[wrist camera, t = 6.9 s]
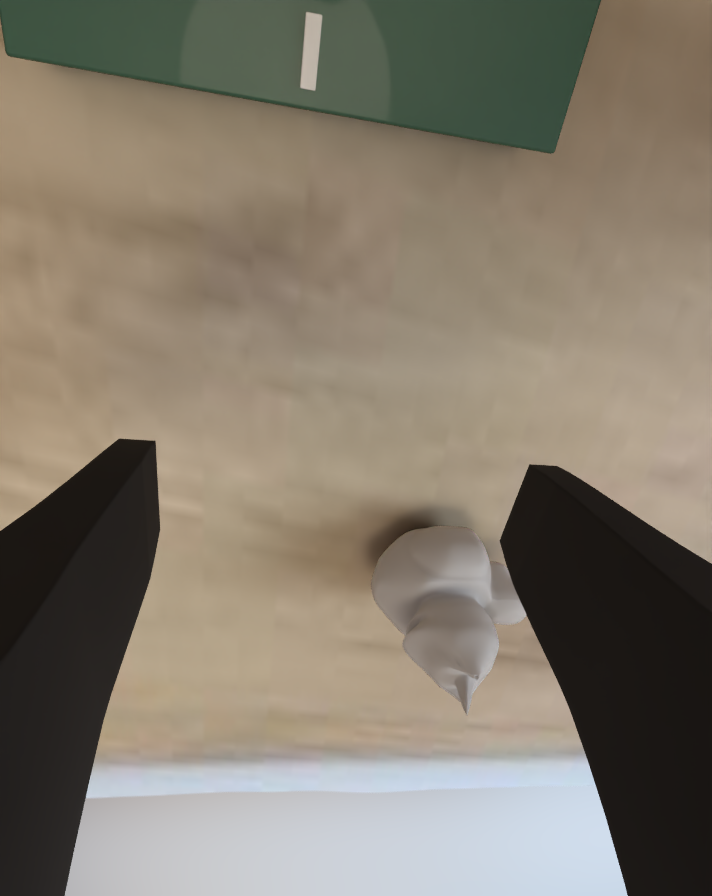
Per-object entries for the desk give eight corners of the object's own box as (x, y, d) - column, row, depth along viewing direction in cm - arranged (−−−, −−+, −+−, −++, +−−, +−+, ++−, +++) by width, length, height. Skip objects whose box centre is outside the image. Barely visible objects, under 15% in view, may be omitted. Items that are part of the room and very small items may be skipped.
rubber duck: (376, 499, 23) (417, 665, 16) (519, 508, 24) (613, 665, 17) (355, 589, 25) (382, 762, 19) (484, 592, 27) (553, 755, 20)
